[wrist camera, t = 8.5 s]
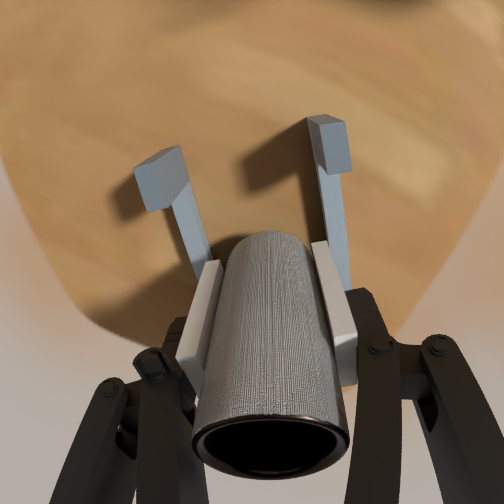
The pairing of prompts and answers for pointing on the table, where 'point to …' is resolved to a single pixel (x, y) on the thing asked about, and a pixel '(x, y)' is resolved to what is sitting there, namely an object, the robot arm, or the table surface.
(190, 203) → the endcap rail
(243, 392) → the grey tube
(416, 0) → the table surface
